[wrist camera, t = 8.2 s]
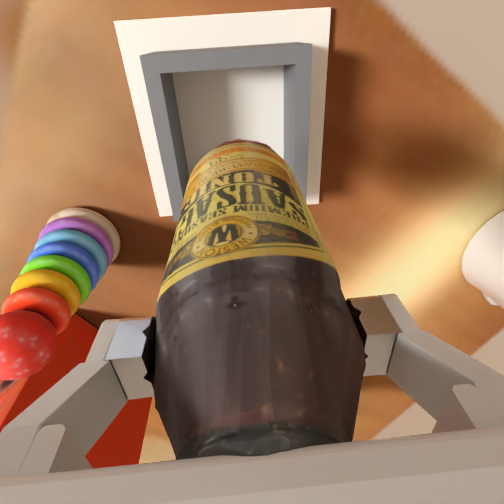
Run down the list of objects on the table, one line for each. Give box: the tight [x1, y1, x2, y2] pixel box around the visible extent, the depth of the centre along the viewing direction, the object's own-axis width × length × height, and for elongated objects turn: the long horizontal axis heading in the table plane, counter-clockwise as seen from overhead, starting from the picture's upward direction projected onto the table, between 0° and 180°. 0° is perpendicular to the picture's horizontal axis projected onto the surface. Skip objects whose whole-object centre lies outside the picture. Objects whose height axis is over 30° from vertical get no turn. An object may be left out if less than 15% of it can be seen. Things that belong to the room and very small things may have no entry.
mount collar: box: [114, 7, 331, 222], centre depth 30 cm, size 18×18×7 cm
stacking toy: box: [0, 207, 120, 380], centre depth 31 cm, size 8×8×19 cm
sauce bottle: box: [154, 139, 366, 460], centre depth 12 cm, size 6×6×20 cm
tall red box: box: [0, 313, 152, 469], centre depth 36 cm, size 8×17×32 cm, turn 33°
